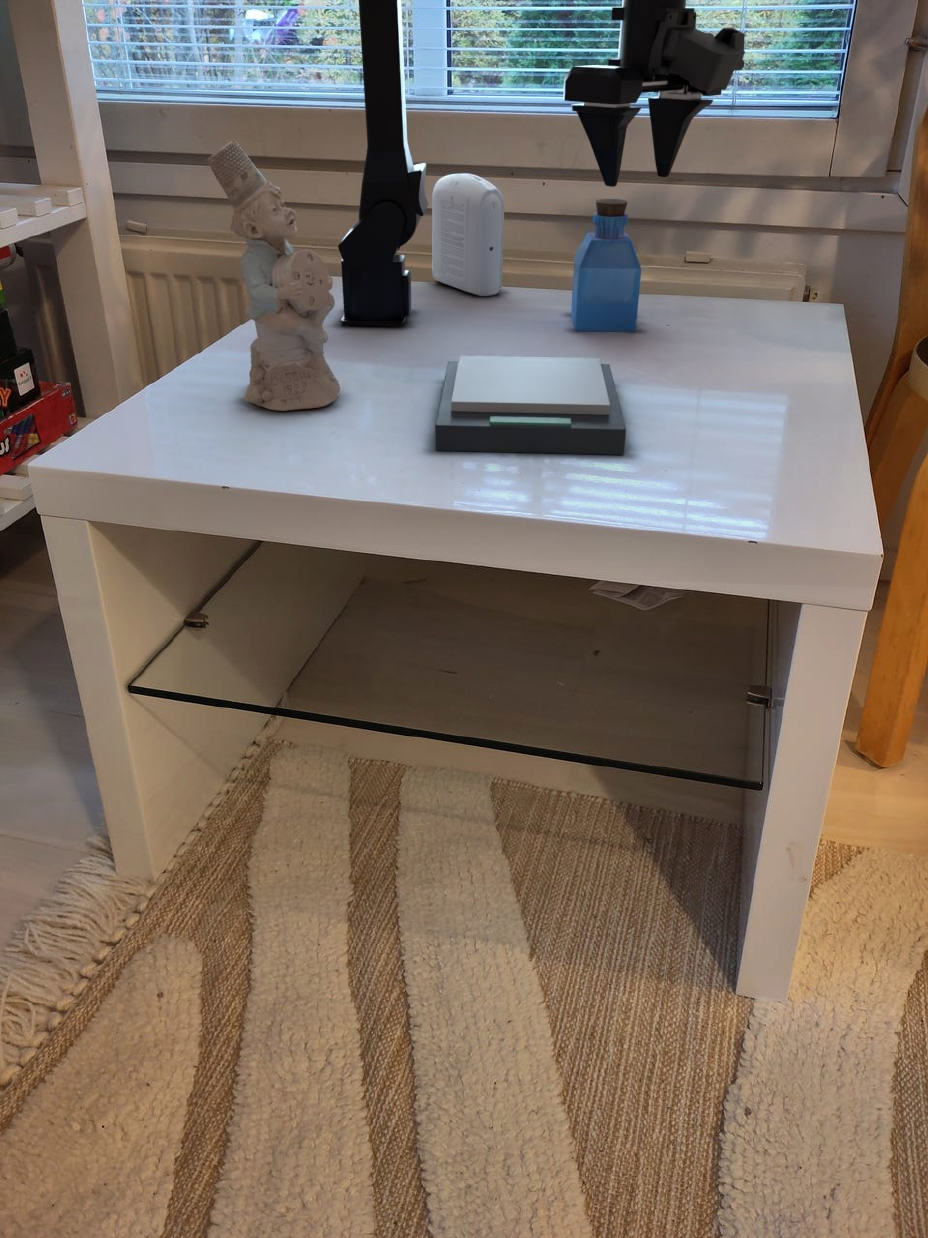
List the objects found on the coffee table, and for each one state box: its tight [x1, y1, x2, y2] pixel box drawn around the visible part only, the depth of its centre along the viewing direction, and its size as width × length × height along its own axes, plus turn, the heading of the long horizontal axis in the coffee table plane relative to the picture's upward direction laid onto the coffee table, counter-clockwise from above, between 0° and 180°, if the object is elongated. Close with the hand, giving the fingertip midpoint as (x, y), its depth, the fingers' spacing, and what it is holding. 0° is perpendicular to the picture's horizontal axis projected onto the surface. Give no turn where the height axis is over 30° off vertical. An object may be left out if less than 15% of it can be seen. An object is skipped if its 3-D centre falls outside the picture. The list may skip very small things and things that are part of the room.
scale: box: [434, 354, 627, 456], centre depth 81 cm, size 14×16×3 cm
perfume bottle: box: [570, 198, 642, 332], centre depth 104 cm, size 6×6×12 cm
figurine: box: [207, 138, 341, 412], centre depth 80 cm, size 9×8×20 cm
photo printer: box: [431, 173, 505, 297], centre depth 117 cm, size 10×4×12 cm, turn 36°
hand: (637, 181), depth 99 cm, fingers open, 9 cm apart
